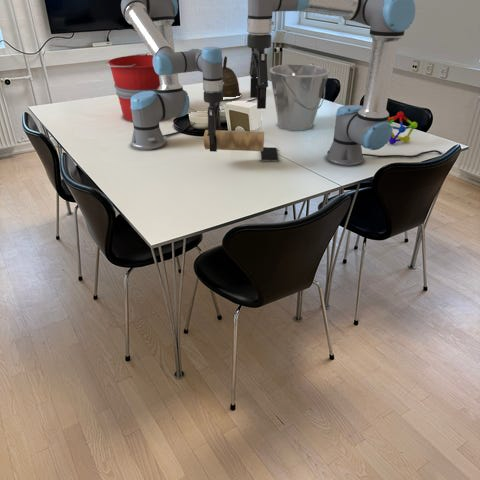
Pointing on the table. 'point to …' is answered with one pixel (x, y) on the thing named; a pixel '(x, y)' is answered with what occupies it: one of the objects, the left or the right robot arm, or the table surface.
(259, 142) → the brown cylinder
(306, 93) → the bucket
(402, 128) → the educational toy
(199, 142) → the table surface
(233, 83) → the bell
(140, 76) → the bucket
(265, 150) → the smartphone
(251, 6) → the right robot arm
